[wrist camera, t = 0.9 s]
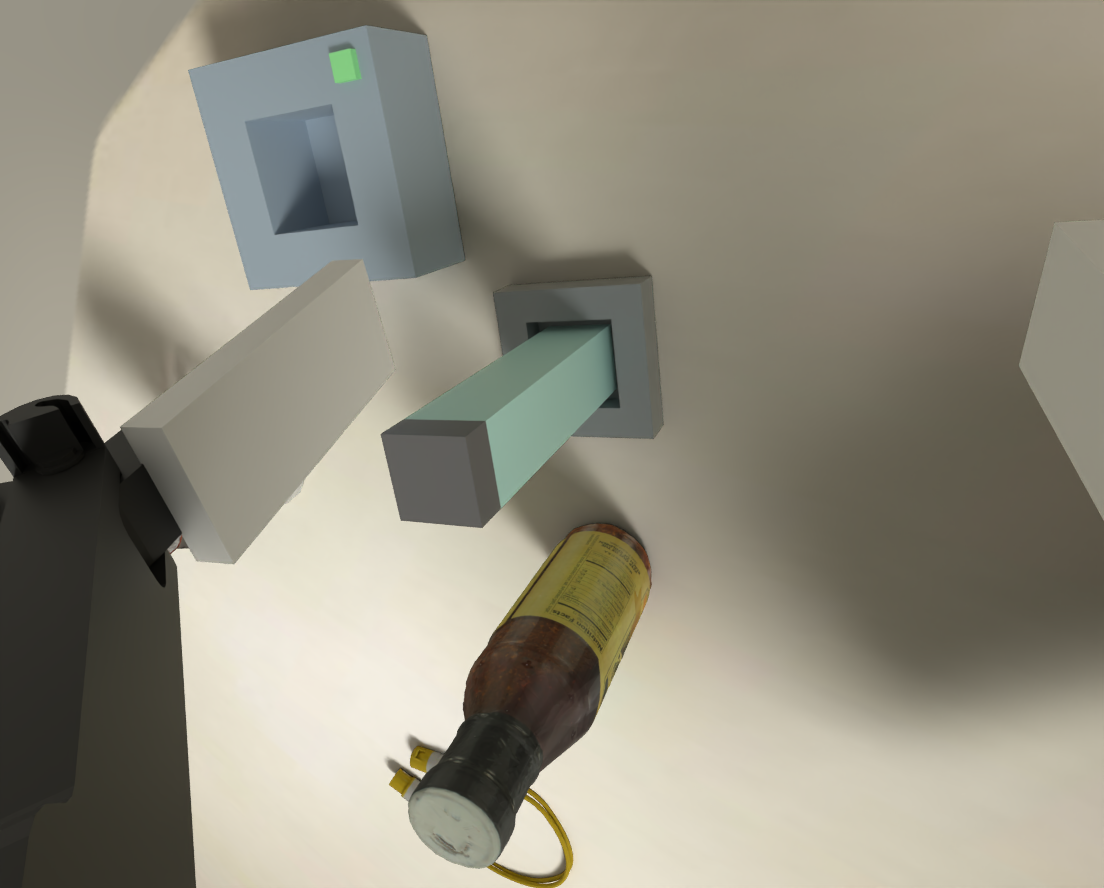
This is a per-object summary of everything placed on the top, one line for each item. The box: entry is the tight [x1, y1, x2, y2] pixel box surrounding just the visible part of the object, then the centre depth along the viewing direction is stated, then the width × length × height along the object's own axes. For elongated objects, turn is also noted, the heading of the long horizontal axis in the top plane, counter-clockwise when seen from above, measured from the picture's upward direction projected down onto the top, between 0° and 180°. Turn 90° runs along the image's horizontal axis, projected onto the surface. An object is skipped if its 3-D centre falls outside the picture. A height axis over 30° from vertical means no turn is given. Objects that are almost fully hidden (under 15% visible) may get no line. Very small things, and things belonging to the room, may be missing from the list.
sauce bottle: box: [408, 523, 652, 869], centre depth 36 cm, size 7×6×20 cm
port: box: [188, 25, 465, 290], centre depth 38 cm, size 11×11×5 cm
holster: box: [493, 276, 664, 439], centre depth 38 cm, size 8×8×2 cm
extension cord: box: [389, 746, 573, 888], centre depth 58 cm, size 12×16×2 cm
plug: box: [381, 324, 617, 528], centre depth 32 cm, size 4×4×16 cm
